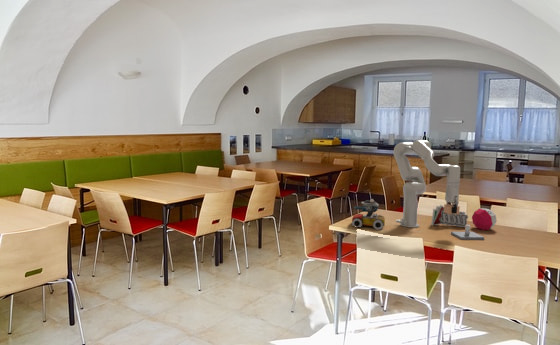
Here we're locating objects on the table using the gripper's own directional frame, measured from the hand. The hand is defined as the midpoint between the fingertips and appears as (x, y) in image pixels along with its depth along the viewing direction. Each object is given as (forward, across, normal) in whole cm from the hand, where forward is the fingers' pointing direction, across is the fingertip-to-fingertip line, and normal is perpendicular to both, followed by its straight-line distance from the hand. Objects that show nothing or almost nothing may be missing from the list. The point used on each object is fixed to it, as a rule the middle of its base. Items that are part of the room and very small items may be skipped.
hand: (451, 211), depth 275 cm
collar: (+1, 0, 0) cm, 1 cm away
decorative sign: (+16, -29, +12) cm, 35 cm away
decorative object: (+16, -21, +33) cm, 43 cm away
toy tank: (+16, -26, -47) cm, 56 cm away
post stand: (+16, +1, +11) cm, 19 cm away
